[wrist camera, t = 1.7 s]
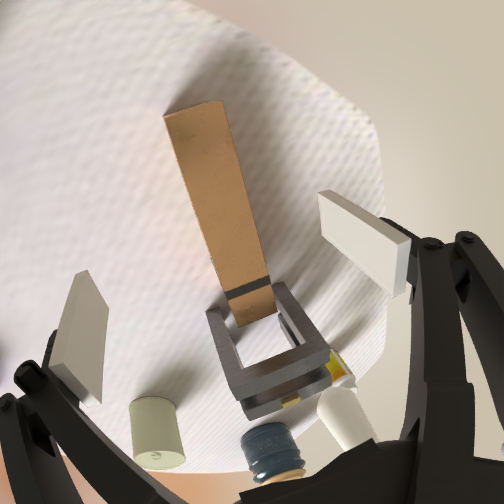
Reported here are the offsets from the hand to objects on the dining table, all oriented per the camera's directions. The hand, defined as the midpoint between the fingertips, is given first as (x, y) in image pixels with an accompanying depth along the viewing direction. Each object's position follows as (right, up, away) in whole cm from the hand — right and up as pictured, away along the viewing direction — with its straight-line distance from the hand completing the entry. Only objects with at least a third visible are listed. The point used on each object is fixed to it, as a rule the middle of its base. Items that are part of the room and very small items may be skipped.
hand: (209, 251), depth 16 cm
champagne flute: (+12, -18, +38) cm, 43 cm away
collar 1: (+1, -8, +28) cm, 29 cm away
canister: (+5, -46, +50) cm, 69 cm away
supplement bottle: (+16, -21, +41) cm, 49 cm away
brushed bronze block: (-2, +5, +20) cm, 21 cm away
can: (-17, -30, +34) cm, 48 cm away
